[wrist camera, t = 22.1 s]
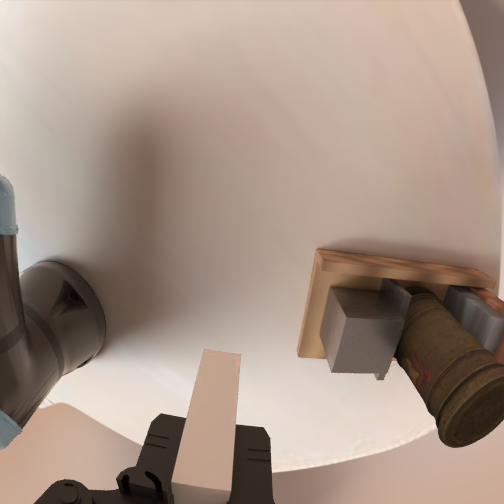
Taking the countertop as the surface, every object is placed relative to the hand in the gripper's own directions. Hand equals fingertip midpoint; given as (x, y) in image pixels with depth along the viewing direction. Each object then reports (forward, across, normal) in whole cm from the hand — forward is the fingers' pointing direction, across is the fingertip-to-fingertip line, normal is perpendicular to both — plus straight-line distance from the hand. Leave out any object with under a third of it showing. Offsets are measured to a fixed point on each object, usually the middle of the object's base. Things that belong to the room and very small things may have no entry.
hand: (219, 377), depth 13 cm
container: (+22, +21, -6) cm, 31 cm away
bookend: (+21, +13, -6) cm, 26 cm away
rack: (+23, +20, -6) cm, 31 cm away
